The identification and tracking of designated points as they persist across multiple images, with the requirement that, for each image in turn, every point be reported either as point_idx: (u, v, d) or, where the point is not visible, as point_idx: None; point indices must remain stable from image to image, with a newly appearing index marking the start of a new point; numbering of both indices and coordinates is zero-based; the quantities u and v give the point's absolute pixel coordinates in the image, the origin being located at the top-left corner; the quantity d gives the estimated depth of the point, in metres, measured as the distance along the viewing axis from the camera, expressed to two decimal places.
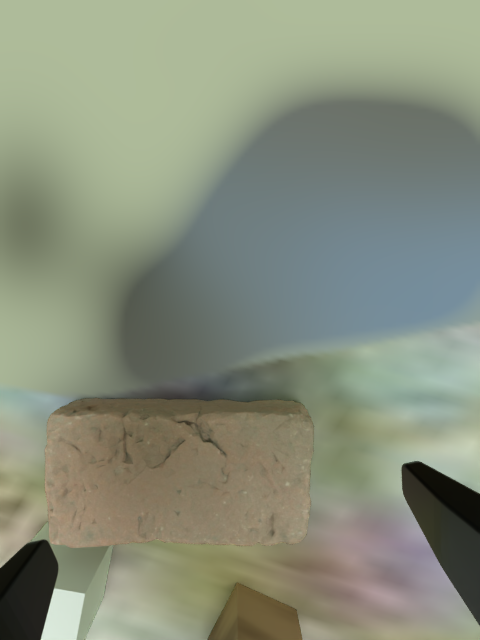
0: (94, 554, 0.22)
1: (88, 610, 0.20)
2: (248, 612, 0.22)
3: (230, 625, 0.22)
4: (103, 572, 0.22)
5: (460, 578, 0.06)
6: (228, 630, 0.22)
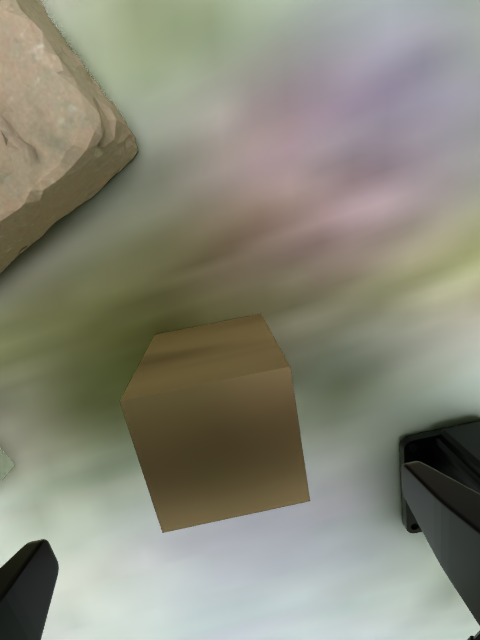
0: None
1: None
2: (167, 346, 0.13)
3: None
4: None
5: (460, 578, 0.06)
6: None
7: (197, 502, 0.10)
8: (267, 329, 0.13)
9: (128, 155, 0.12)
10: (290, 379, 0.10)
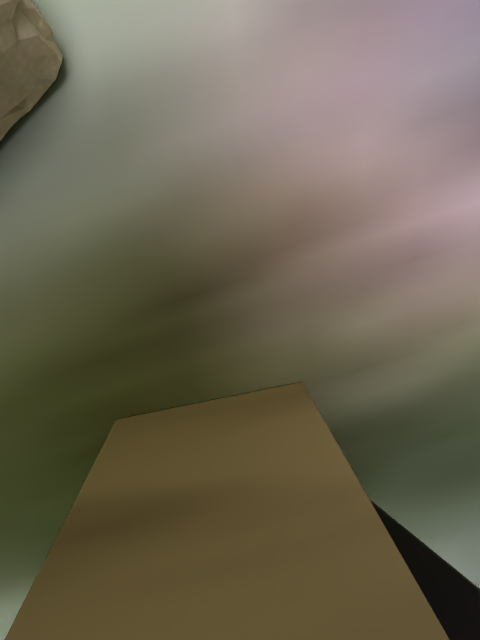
0: None
1: None
2: (127, 468, 0.07)
3: None
4: None
5: None
6: None
7: None
8: (331, 439, 0.06)
9: (36, 66, 0.06)
10: None
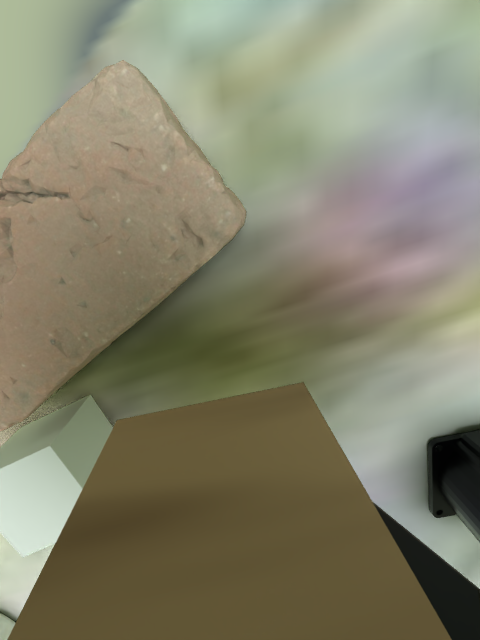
0: (65, 418, 0.18)
1: (90, 464, 0.17)
2: (129, 468, 0.07)
3: None
4: (97, 430, 0.19)
5: None
6: None
7: None
8: (332, 440, 0.06)
9: None
10: None
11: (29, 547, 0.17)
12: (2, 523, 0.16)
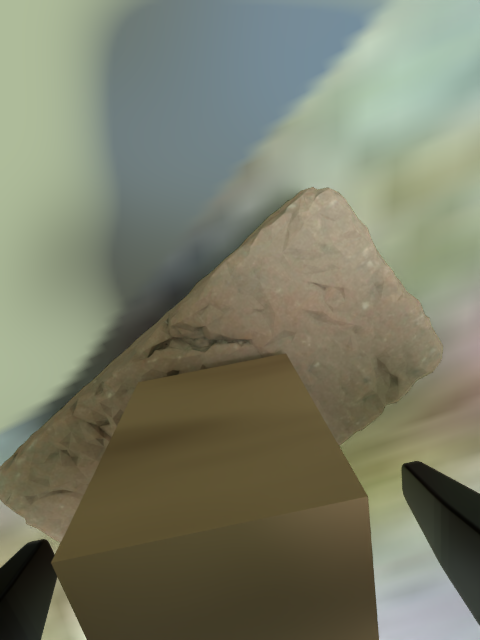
0: None
1: None
2: (151, 410, 0.09)
3: None
4: None
5: (460, 578, 0.06)
6: None
7: None
8: (302, 388, 0.09)
9: None
10: (366, 517, 0.05)
11: None
12: None
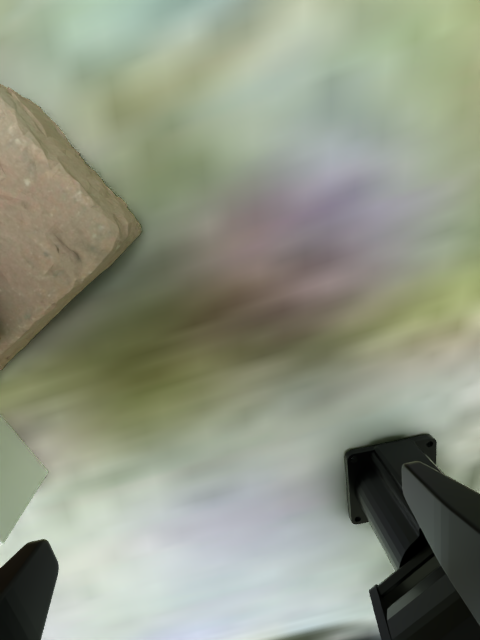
0: None
1: None
2: None
3: None
4: (3, 450, 0.19)
5: (460, 578, 0.06)
6: None
7: None
8: None
9: (135, 236, 0.17)
10: None
11: None
12: None
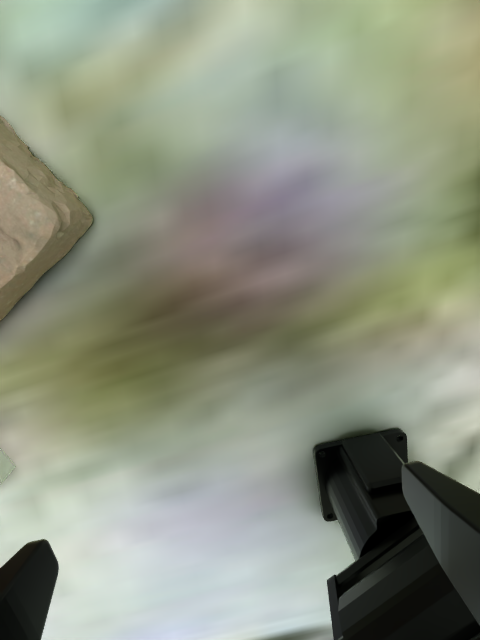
0: None
1: None
2: None
3: None
4: None
5: (460, 578, 0.06)
6: None
7: None
8: None
9: (85, 226, 0.17)
10: None
11: None
12: None
